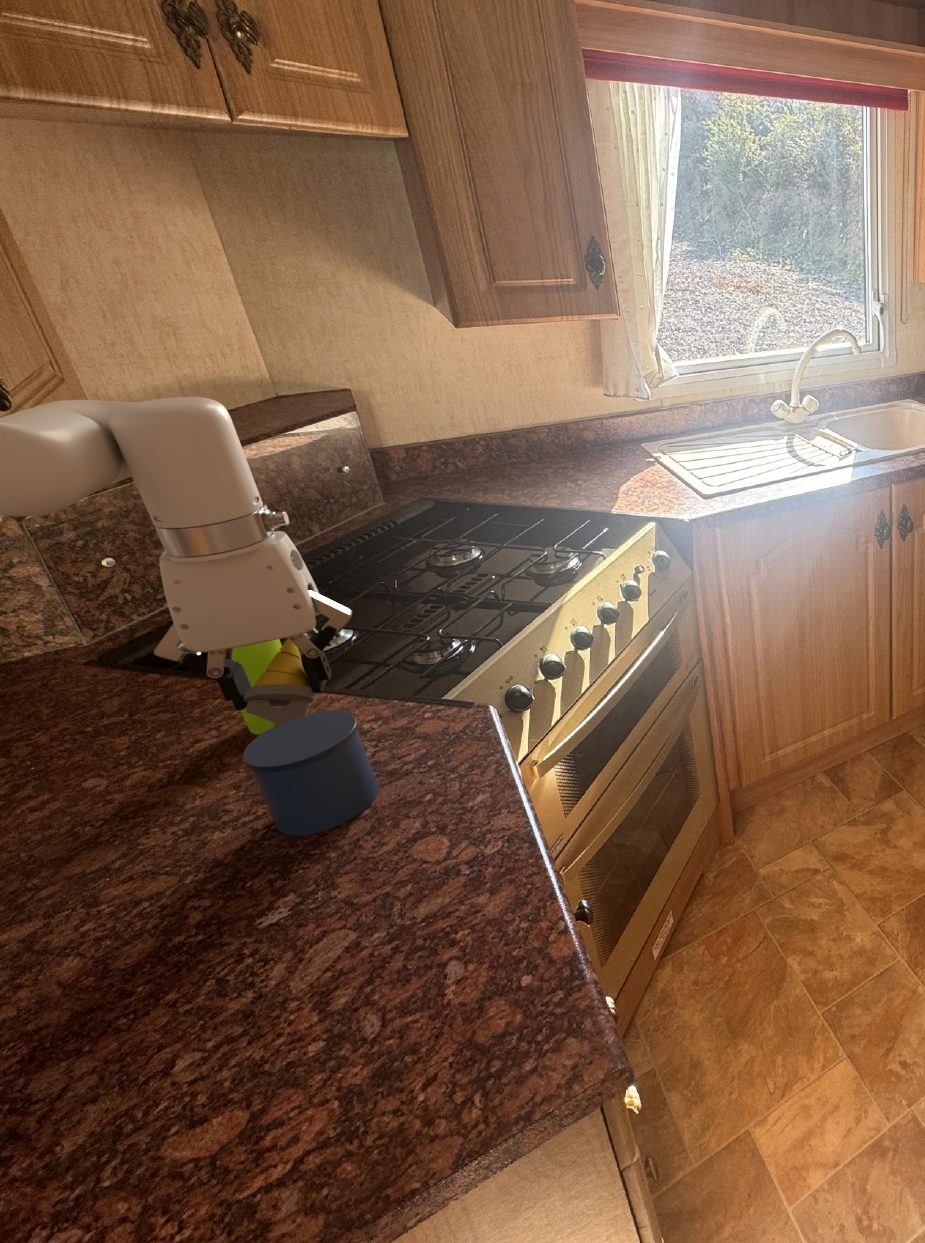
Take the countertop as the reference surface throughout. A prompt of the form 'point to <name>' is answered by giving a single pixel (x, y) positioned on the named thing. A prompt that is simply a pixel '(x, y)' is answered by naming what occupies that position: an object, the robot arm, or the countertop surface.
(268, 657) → the soap dispenser
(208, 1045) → the countertop surface
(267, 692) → the drill bit
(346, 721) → the tin
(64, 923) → the countertop surface
